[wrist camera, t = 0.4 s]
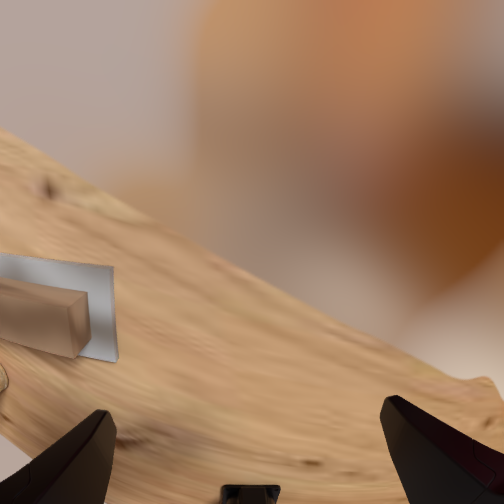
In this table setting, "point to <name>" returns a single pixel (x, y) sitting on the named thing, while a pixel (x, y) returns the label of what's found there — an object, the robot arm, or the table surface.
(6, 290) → the ridge
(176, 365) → the table surface
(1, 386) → the spice jar
